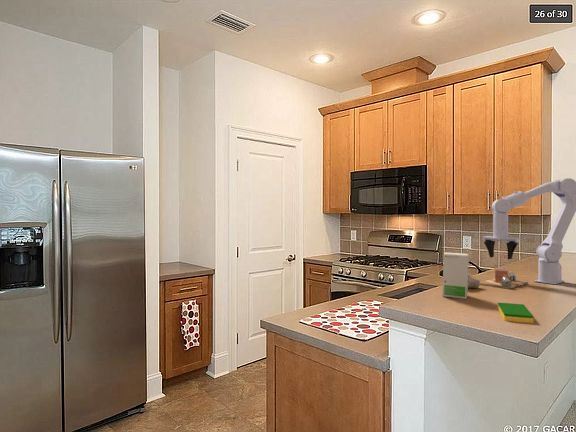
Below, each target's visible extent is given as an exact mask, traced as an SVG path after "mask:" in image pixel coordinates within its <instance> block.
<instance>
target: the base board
mask: <svg viewBox="0 0 576 432" xmlns="http://www.w3.org/2000/svg"><path fill="white" fill-rule="evenodd" d="M528 283H529V282H528V281H525V280H517V279H516V281H511V286H501V285H500V283H497V282H495V278H491V279H487V280H482V281H480V285H481V286H488V287H494V288H500V289H507V290H510V289H513V288H517V287H520V285H521V286H524V284H525V285H527V284H528Z"/></svg>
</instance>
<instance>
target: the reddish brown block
mask: <svg viewBox="0 0 576 432" xmlns="http://www.w3.org/2000/svg"><path fill="white" fill-rule="evenodd" d="M494 273H495V274H494V275H495V277H494V279H495V282H497V283H500V279H501V278H502V277H503V276H505V277H507V278H508V279H509V273H510V269H502V268H496V269H495V271H494Z"/></svg>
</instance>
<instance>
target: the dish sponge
mask: <svg viewBox="0 0 576 432" xmlns="http://www.w3.org/2000/svg"><path fill="white" fill-rule="evenodd" d="M497 310H498V312H499V314H500V315H501V317H502V319H503V320H504V321H506V322H517V323H527V324H534V315H533V314H532V313H531V311H530V310H529V309H528V308H527V306H525V304H522V303H509V302H497Z"/></svg>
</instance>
